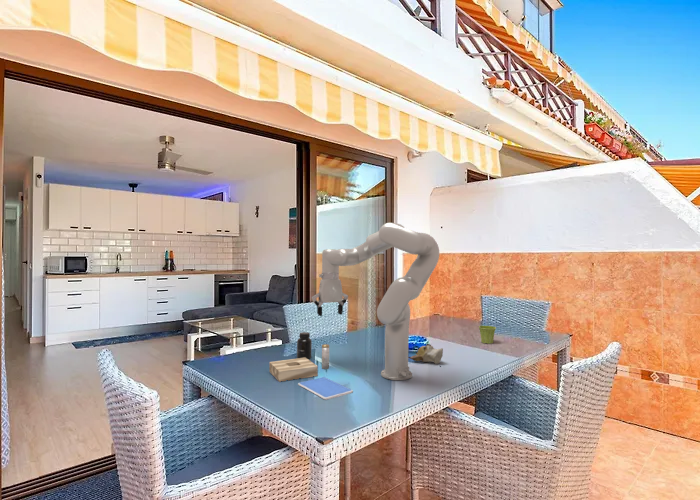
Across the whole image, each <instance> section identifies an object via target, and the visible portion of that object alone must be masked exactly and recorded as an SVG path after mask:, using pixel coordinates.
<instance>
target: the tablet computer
mask: <svg viewBox="0 0 700 500" xmlns="http://www.w3.org/2000/svg"><path fill="white" fill-rule="evenodd" d="M297 386H298V387H299V386H300V387H302V388H303V389H305V390H307V391H309V392H310V393H312V394H314V395H316V396H317V397H319V398H321V399H323V400H332V399H336V398H338V397H341V396H342V397H343V396H345V395H346V396H347V395H350V394H353V392H354V391H353V389H351V388H348V387H346V386H344V385H342V384H341V383H338V382H336V381H334V380H331V379H329V378H327V377H325V376H323V377H319V378H315V379H314V378H313V379H309V380H305V381H300V382H298V383H297Z"/></svg>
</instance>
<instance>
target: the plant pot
mask: <svg viewBox="0 0 700 500" xmlns="http://www.w3.org/2000/svg"><path fill="white" fill-rule="evenodd" d="M478 329H479V333H480V340H481V343H482V344H491V345H492V344H493V343H494V340H495V339H494V338H495V332H496V329H497V327H496V326H493V325H479V326H478Z"/></svg>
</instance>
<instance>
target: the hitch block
mask: <svg viewBox="0 0 700 500" xmlns="http://www.w3.org/2000/svg"><path fill="white" fill-rule="evenodd" d="M318 367H319V366H318V365H317V364H315V363H314V362H312V361H311V359H309V360H308V359H307V358H297V357H296V358H291V359H283V360H276V361H269V373H270V374H271V376H273V377H274V378H275V379H276V380H277V381H278V382H279V383H280V382H281V381H282V382H286V380H288V381H294V380H293V379H295V380H300V379H299V378H301V379H305V378H306V379H308V378H311V377H312V378H313V376H314V377H318V375H319V374H318V373H319V372H318V371H319V370H318Z"/></svg>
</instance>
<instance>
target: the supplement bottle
mask: <svg viewBox="0 0 700 500" xmlns="http://www.w3.org/2000/svg"><path fill="white" fill-rule="evenodd" d="M298 336H299V337H298V339H297V341H296V359H297V358H307V359H308V360H311V359H312V348H313V347H312V346H313V345H312V344H313V343H312V339H311V338H310V332H306V331H302V332H299V335H298Z"/></svg>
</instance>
